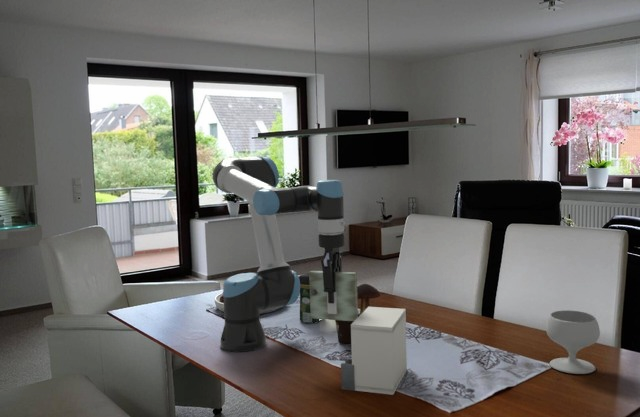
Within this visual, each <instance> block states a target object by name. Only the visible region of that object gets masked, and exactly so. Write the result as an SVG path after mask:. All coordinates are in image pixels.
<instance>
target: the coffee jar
mask: <svg viewBox="0 0 640 417" xmlns="http://www.w3.org/2000/svg"><path fill="white" fill-rule="evenodd" d="M298 277H299V280H300V294H299V321H300V322H301V323H303V324H307V325H309V324H316V323H319V322H320V321H319V319H313V318H311V311H310V283H309V272H307V273H304V274H300V275H298Z"/></svg>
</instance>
